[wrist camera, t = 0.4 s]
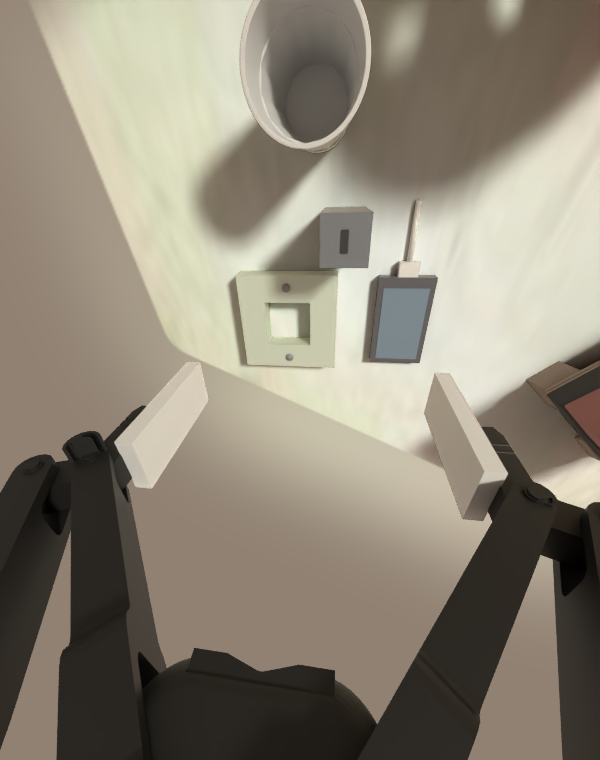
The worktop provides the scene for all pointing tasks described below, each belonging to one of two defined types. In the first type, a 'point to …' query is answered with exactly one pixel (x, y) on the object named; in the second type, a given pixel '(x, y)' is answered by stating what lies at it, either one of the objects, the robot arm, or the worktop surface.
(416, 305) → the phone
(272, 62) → the cup
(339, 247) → the block
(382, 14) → the worktop surface
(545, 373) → the toaster
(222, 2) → the worktop surface
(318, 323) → the outlet plate
